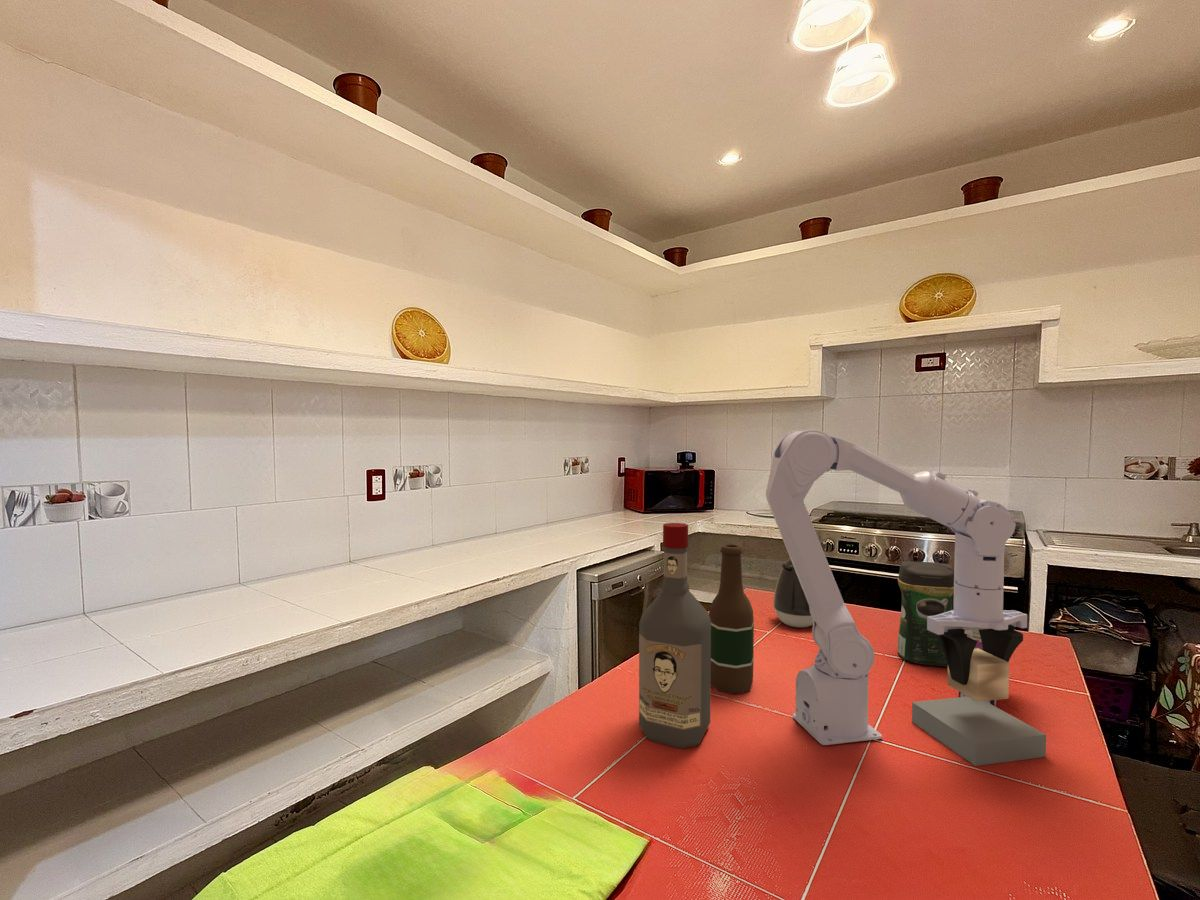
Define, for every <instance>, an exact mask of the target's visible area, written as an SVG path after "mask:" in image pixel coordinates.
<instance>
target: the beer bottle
mask: <svg viewBox="0 0 1200 900" xmlns="http://www.w3.org/2000/svg"><path fill="white" fill-rule="evenodd" d="M743 552H744V551H743V548H742V546H741V545H738V544H732V543H729V544H726V543H725V544H723V545H722V546H721V548H720V553H721V567H720V579H719V583H720V584H719V588H718V593H716V596H715V597H714V598H713V599H712V601H711V604H710V607H709V610H708V614H709V617H710V619H711V687H712V688H714V689H715V690H717V691H718V692H720V693H727V694H731V695H732V694H733V695H738V694H743V693H747V692H748V693H749V692H750V691H751V689H752V685H753V682H754V655H755V654H754V649H755V648H754V645H755V642H754V640H755V639H754V638H755V637H754V636H755V633H754V631H755V627H754V626H755V623H754V622H755V619H754V610H753V609H754V608H753V606H752V604H751V601H750V600H749V598H748V597H747V595H746V593H745V590H744V585H743V572H742V570H743V568H742V555H741V554H742V553H743Z"/></svg>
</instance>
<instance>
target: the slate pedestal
mask: <svg viewBox="0 0 1200 900" xmlns="http://www.w3.org/2000/svg"><path fill="white" fill-rule="evenodd" d="M911 704H912V705H911V723H913V724H914V725H915V726H917V727H918V728H920V729H921V730H922V731H924V732H926V733H927V734H928V735H930V736H931V737H933V738H934V739H935V740H937V741H938V742H940V743H941V744H943V745H944V746H945V747H947V748H948V749H950V750H951V751H953V752H954V753H955V754H957V755H959V756H960V757H961V758H962V759H965V761H967V762H968V763H970V764H972V765H973V766H974V767H978V766H985V765H992V764H993V765H995V764H1002V763H1008V762H1016V761H1023V760H1024V761H1025V760H1032V759H1039V758H1046V756H1047V755H1046V754H1047V734H1046V733H1043V732H1042V731H1040V730H1039V729H1037V728H1035V727H1033V726H1032V725H1030V724H1027V723H1026V722H1025V721H1022V720H1020V719H1019V718H1017V717H1015V716H1014V715H1012V714H1009V713H1008V712H1006V711H1004V710H1002V709H1000V708H998V707H997V706H993V705H992V704H990V703H988V702H986V701H975V700H973V699H971V698H970V697H968V696H967V697H959V696H958V697H949V698H939V699H930V700H918V701H912V703H911Z"/></svg>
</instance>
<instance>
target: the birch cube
mask: <svg viewBox="0 0 1200 900" xmlns="http://www.w3.org/2000/svg"><path fill="white" fill-rule="evenodd" d="M946 678H947V680H946V681H947V684H946V685H947V686H949V687H951V688H952V689H954V690H956V691H958V693H959V692H961V693H963V694H964V695H966V696H968V697H970V698H971V699H973V700H975V701H988V700H997V701H998V700H1007V699H1009V693H1010V692H1009V689H1010V688H1009V687H1010V686H1009V685H1010V661H1009V662H1007V661H1005V660H1003V659H1000V658H998V657H996V656H994V655H992V654H989V653H987V652H985V651H983V650H981V649H979V648H977V649H974V651H973V653H972V657H971V661H970V671H969V679H968V683H967V685H962V684H960V683H958V682H956V681H954V680H952V679H951V675H950V671H949V667H948V666H947V677H946Z"/></svg>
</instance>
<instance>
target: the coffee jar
mask: <svg viewBox="0 0 1200 900" xmlns="http://www.w3.org/2000/svg"><path fill="white" fill-rule="evenodd" d="M897 584H898V587H899V589H900V594H901V610H900V618H899V626H898V627H899V628H898V635H897V636H898V637H897V652H898V655H899V656H900V657H901V658H903V659H904V660H906V661H908V662H909V663H910V662H911V663H914V664H920V665H926V666H927V665H928V666H937V667H939V666H940V667H948V663H947V660H946V657H945V654H944V652H943V649H942V647H941V645H940V643H939V641H938V639H937V638H936V636H935V635H934V633H933V632H931V631H929V630H927V617H928V616H935V615H939V614H942V613H945V612H948V611H951V610H953V602H954V568H953V567H952V566H951V565H950V564H947V563H943V562H928V561H911V560H910V561H907V560H905V561H904V560H903V561H901V562H900V564H899V571H898V577H897Z"/></svg>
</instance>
